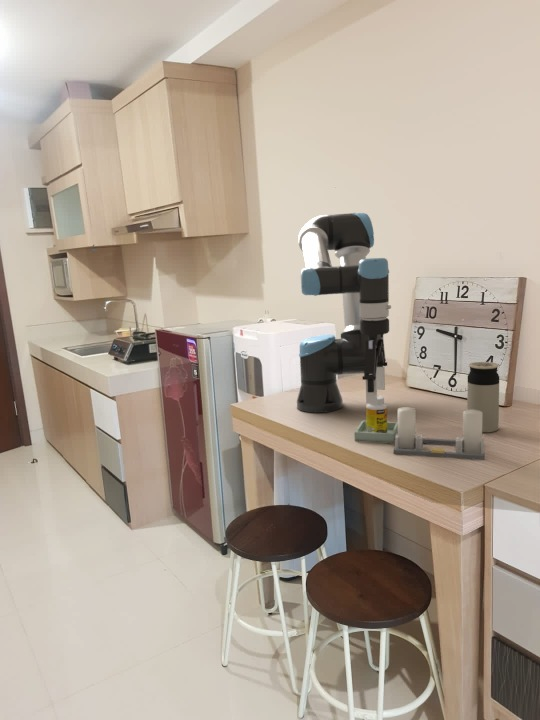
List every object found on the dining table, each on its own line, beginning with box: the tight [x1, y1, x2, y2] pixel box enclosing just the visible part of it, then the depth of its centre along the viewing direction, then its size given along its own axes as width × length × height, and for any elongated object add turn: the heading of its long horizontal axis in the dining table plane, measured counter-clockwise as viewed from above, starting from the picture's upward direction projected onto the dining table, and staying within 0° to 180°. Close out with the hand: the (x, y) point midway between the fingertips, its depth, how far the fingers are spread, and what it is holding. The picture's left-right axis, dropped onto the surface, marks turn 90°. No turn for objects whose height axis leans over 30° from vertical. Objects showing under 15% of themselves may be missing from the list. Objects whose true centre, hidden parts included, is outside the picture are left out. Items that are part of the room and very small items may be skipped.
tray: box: [354, 420, 398, 444], centre depth 148 cm, size 10×10×2 cm
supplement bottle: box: [365, 395, 388, 433], centre depth 148 cm, size 6×6×10 cm
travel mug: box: [466, 361, 500, 434], centre depth 148 cm, size 8×8×18 cm
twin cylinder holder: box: [392, 406, 485, 461], centre depth 135 cm, size 21×10×10 cm, turn 70°
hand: (375, 396), depth 147 cm, fingers open, 13 cm apart
